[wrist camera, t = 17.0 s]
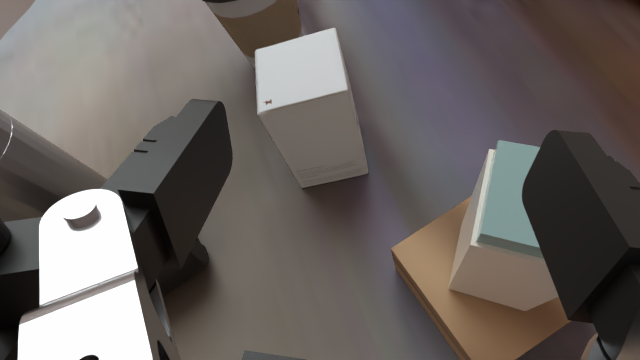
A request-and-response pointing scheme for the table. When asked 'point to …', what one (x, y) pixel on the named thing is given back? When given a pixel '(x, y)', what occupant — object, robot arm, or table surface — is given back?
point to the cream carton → (501, 236)
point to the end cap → (183, 268)
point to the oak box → (468, 298)
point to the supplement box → (310, 108)
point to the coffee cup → (258, 22)
